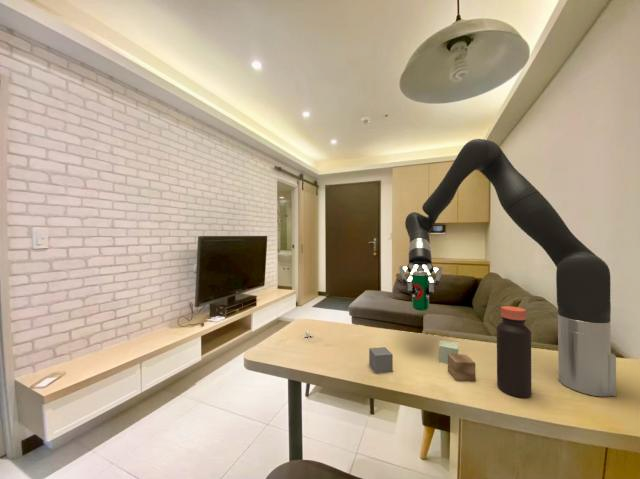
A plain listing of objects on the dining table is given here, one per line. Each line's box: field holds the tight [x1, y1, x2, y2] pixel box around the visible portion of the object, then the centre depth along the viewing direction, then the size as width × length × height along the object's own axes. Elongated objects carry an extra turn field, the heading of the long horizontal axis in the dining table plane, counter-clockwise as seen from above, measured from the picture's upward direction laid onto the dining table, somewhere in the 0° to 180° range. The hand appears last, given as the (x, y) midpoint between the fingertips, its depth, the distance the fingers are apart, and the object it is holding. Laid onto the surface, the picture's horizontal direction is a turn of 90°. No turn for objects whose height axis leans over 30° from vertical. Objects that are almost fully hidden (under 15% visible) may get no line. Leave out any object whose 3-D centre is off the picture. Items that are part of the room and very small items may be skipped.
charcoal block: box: [368, 346, 394, 374], centre depth 74 cm, size 5×5×5 cm
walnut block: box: [447, 353, 476, 383], centre depth 70 cm, size 5×5×5 cm
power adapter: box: [304, 329, 314, 339], centre depth 98 cm, size 3×3×3 cm
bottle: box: [496, 305, 533, 399], centre depth 63 cm, size 7×7×20 cm
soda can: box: [411, 271, 430, 312], centre depth 83 cm, size 5×5×12 cm
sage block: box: [438, 339, 459, 365], centre depth 79 cm, size 5×5×5 cm
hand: (420, 293), depth 81 cm, fingers closed on soda can, 5 cm apart
